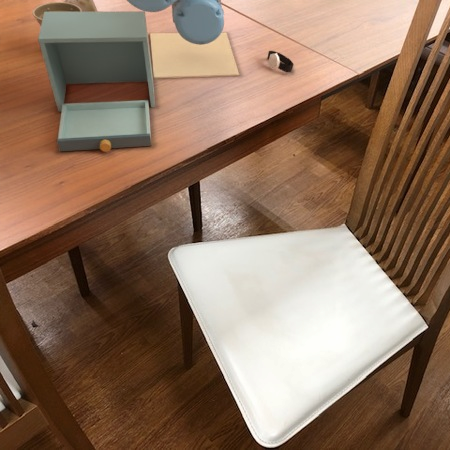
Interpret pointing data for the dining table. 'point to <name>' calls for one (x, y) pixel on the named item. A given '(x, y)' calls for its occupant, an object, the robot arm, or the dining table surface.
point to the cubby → (95, 49)
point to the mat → (191, 57)
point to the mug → (84, 5)
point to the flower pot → (54, 9)
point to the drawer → (104, 125)
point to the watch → (275, 61)
